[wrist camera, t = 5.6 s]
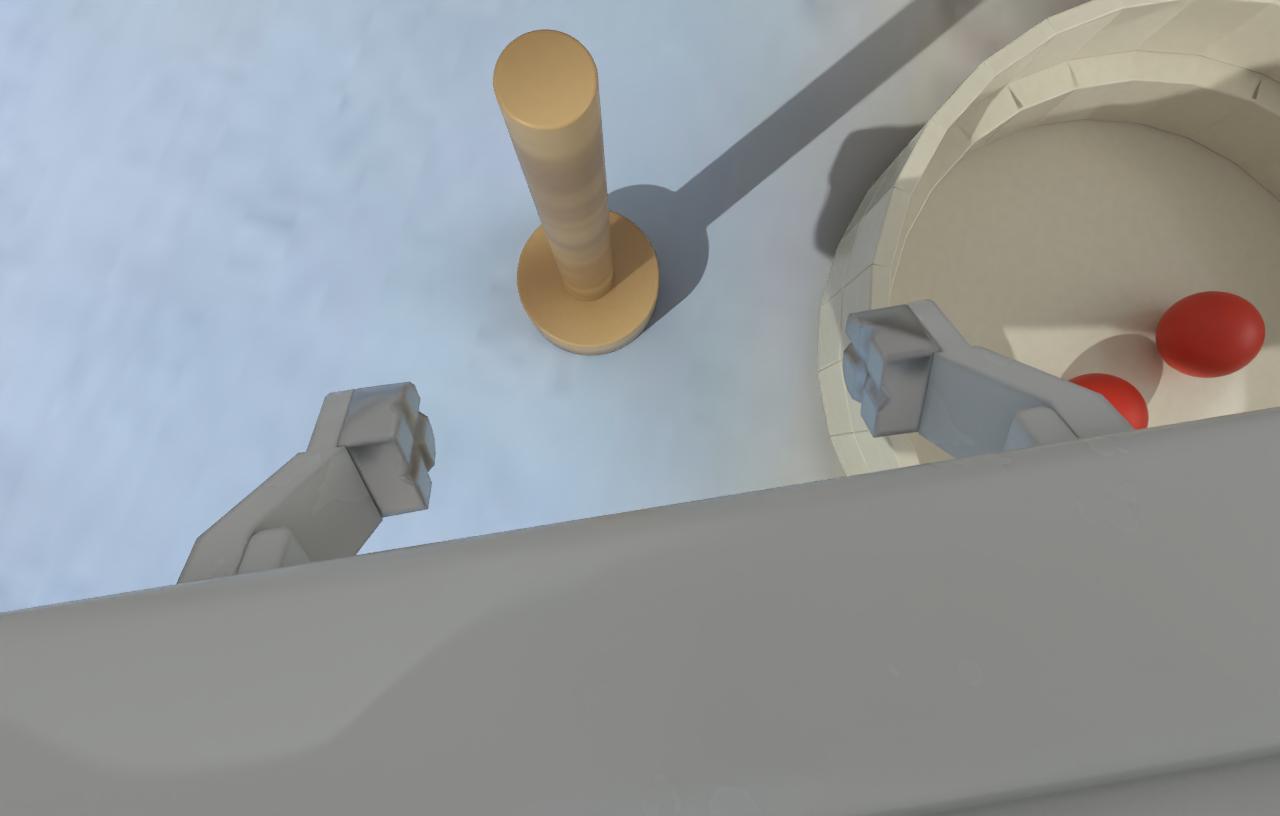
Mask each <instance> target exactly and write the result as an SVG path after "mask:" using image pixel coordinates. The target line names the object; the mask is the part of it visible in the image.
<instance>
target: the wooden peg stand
mask: <svg viewBox="0 0 1280 816" xmlns="http://www.w3.org/2000/svg"><path fill="white" fill-rule="evenodd" d="M493 87H494V92H495V96H496V99H497V102H498V104H499V107H500V110H501V113H502V115H503V118H504V121H505V124H506V126H507V129H508V132H509V135H510V137H511V140H512V143H513V146H514V148H515V151H516V154H517V157H518V159H519V162H520V165H521V168H522V170H523V173H524V176H525V179H526V181H527V184H528V187H529V190H530V193H531V195H532V198H533V201H534V204H535V206H536V209H537V212H538V215H539V217H540V220H541V223H542V225H541V226H540V227H539V228H538V229H537V230H536V231H535V232H534V233H533V234H532V235H531V237H530V238H529V239H528V241H527V243H526V245H525V246H524V248H523V251H522V253H521V256H520V259H519V263H518V270H517V285H518V292H519V296H520V299H521V302H522V304H523V307H524V309H525V311H526V312H527V314H528V316H529V317H530V319H531V320H532V322H533V323H534V325H535V326H536V328H537V329H538V330H539V331H540V333H541V334H542V335H543V336H544V337H545V338H546V339H547V340H549V341H550V342H551V343H553V344H554V345H556V346H558V347H559V348H561V349H563V350H566V351H569V352H572V353H576V354H580V355H601V354H607V353H610V352H614V351H616V350H618V349H621V348H623V347H624V346H626V345H628V344H629V343H631V342H632V341H633V340H634V339H636V338H637V337H638V336H639V335H640V334H641V333H642V331H643V330H644V329H645V327H646V326H647V325H648V323H649V321H650V319H651V317H652V315H653V312H654V310H655V306H656V302H657V296H658V290H659V282H660V275H659V265H658V260H657V257H656V254H655V251H654V249H653V247H652V245H651V243H650V242H649V240H648V238H647V237H646V236H645V234H644V233H643V232H642V231H641V230H640V229H639V228H638V227H637V226H636V225H635V224H634V223H633V222H631V221H630V220H628V219H627V218H625V217H623V216H622V215H620V214H617V213H615V212H612V211H609V207H608V194H607V182H606V170H605V157H604V145H603V132H602V120H601V108H600V95H599V83H598V73H597V68H596V65H595V62H594V60H593V58H592V56H591V55H590V53H589V51H588V50H587V49H586V48H585V47H584V46H583V45H582V44H581V43H580V42H579V41H578V40H576V39H575V38H573V37H571V36H570V35H568V34H565V33H563V32H559V31H555V30H536V31H531V32H528V33H525V34H523V35H521V36H519V37H517V38H516V39H515V40H513V41H512V42H511V43H510V44H509V45H508V46H507V47H506V48H505V49H504V50H503V52H502V53H501V55H500V57H499V58H498V61H497V63H496V66H495V69H494V75H493Z"/></svg>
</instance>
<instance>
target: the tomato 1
mask: <svg viewBox="0 0 1280 816" xmlns="http://www.w3.org/2000/svg"><path fill="white" fill-rule="evenodd" d="M1068 381H1069V382H1072V383H1074V384H1077V385H1079V386H1082V387H1084V388H1087V389H1089V390H1092V391H1094V392H1097V393H1100V394H1102V395H1103V396H1104V397H1105V398H1106V399H1107V400H1108V401H1109V402H1110V403H1111V404H1112V405H1113V406H1114V408H1115V409H1116V410H1117V411H1118V412H1119V413H1120V414H1121V415H1122V416H1123V417H1124V418H1125V419H1126V420H1127V421H1128V422H1129V423H1130V424H1131V425H1132V426H1133V427H1134V428H1135V430H1138V429H1144V428H1147V426H1148V420H1149V414H1148V408H1147V405H1146V402H1145V400H1144V398H1143V397H1142V395H1141V393H1140V392H1139V391H1138V390H1137V389H1136V388H1135V387H1134V386H1133V385H1131V384H1130V383H1129V382H1127V381H1125V380H1124V379H1122V378H1119V377H1117V376H1114V375H1110V374H1103V373H1090V374H1084V375H1080V376H1077V377H1074V378H1072V379H1070V380H1068Z"/></svg>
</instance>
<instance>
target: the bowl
mask: <svg viewBox="0 0 1280 816" xmlns="http://www.w3.org/2000/svg"><path fill="white" fill-rule="evenodd" d="M1206 291H1220V292H1228V293H1232V294H1235V295H1237V296H1240V297H1242V298H1244V299H1246V300H1247V301H1249V302H1250V303H1251V304H1252V305H1254V306H1255V308H1256V309H1257V310H1258V311H1259V313H1260V314H1261V316H1262V318H1263V321H1264V324H1265V340H1264V343H1263V346H1262V348H1261V350H1260V352H1259V353H1258V355H1257V356H1256V357H1255V358H1254V359H1253V360H1252V361H1251V362H1250V363H1249V364H1248V365H1246V366H1245V367H1243V368H1242V369H1240V370H1238V371H1236V372H1234V373H1232V374H1229V375H1225V376H1221V377H1215V378H1200V377H1193V376H1189V375H1186V374H1183V373H1181V372H1179V371H1177V370H1175V369H1174V368H1172V367H1171V366H1169V365H1168V364H1167V363H1166V362H1165V360H1164V359H1163V358H1162V357H1161V355H1160V353H1159V351H1158V349H1157V346H1156V339H1155V336H1156V329H1157V326H1158V323H1159V321H1160V319H1161V317H1162V316H1163V314H1164V313H1165V312H1166V311H1167V310H1168V309H1169V308H1170V307H1171V306H1172V305H1173V304H1174V303H1176V302H1178V301H1179V300H1181V299H1183V298H1185V297H1187V296H1190V295H1192V294H1196V293H1200V292H1206ZM926 299H930V300H932V301H934V302H935V303H936V304H937V306H938V307H939V308H940V309H941V310H942V312H943V313H944V314H945V315H946V317H947V318H948V319H949V320H950V321H951V323H952V324H953V325H954V326H955V328H956V329H957V330H958V331H959V332H960V334H961V335H962V336H963V337H964V338H965V340H966V341H967V342H968V343H969V345H970V346H971V347H974V346H981V347H984V348H986V349H989V350H991V351H994V352H996V353H999V354H1001V355H1004V356H1006V357H1009V358H1011V359H1014V360H1016V361H1019V362H1021V363H1024V364H1026V365H1029V366H1032V367H1034V368H1037V369H1039V370H1042V371H1044V372H1047V373H1049V374H1052V375H1054V376H1057V377H1059V378H1062V379H1064V380H1067V381H1068V380H1070V379H1072V378H1074V377H1077V376H1080V375H1084V374H1090V373H1103V374H1110V375H1114V376H1117V377H1119V378H1122V379H1124V380H1125V381H1127V382H1129V383H1130V384H1131V385H1133V386H1134V387H1135V388H1136V389H1137V390H1138V391H1139V392H1140V393H1141V395H1142V397H1143V398H1144V400H1145V402H1146V405H1147V408H1148V414H1149V420H1148V426H1147V428H1150V427H1156V426H1162V425H1169V424H1175V423H1181V422H1187V421H1193V420H1200V419H1206V418H1212V417H1218V416H1224V415H1230V414H1236V413H1242V412H1249V411H1255V410H1261V409H1267V408H1273V407H1279V406H1280V0H1092V1H1089V2H1087V3H1084V4H1082V5H1079V6H1076V7H1074V8H1071V9H1069V10H1066V11H1063V12H1061V13H1058V14H1056V15H1053V16H1050V17H1048V18H1047V19H1044V20H1042V21H1041V22H1040V23H1038V24H1037V25H1035V26H1034V27H1032V28H1031V29H1029V30H1028V31H1026V32H1025V33H1023V34H1022V35H1020V36H1019V37H1018V38H1016V39H1015V40H1013V41H1012V42H1010V43H1009V44H1007V45H1006V46H1004V47H1003V48H1001V49H1000V50H998V51H997V52H996V53H994V54H993V55H991V56H990V57H988V58H987V59H985V60H984V61H983V62H982V63H980V64H979V65H978V67H977V68H976V69H975V70H974V71H973V72H972V73H971V74H970V75H969V76H968V78H967V79H966V80H965V81H964V82H963V83H962V84H961V85H960V86H959V87H958V89H957V90H956V91H955V92H954V93H953V94H952V95H951V96H950V97H949V98H948V100H947V101H946V102H945V103H944V104H943V105H942V106H941V107H940V108H939V109H938V111H937V112H936V113H935V114H934V115H933V116H932V117H931V118H930V119H929V121H928V122H927V123H926V124H925V125H924V126H923V127H922V129H921V130H920V131H919V132H918V133H917V134H916V136H915V137H914V138H913V139H912V140H911V141H910V142H909V144H908V145H907V146H906V147H905V148H904V149H903V151H902V152H901V153H900V154H899V155H898V156H897V158H896V159H895V160H894V161H893V162H892V163H891V164H890V166H889V167H888V168H887V169H886V170H885V171H884V172H883V174H882V175H881V176H880V177H879V178H878V179H877V181H876V182H875V183H874V184H873V185H872V186H871V187H870V189H869V190H868V192H867V193H866V195H865V197H864V198H863V200H862V202H861V204H860V206H859V208H858V209H857V211H856V213H855V215H854V217H853V218H852V220H851V222H850V224H849V226H848V227H847V229H846V231H845V233H844V235H843V236H842V238H841V240H840V242H839V246H838V247H837V249H836V253H835V256H834V260H833V264H832V267H831V271H830V274H829V278H828V281H827V285H826V288H825V292H824V295H823V299H822V303H821V306H822V307H821V308H820V325H819V347H818V368H817V369H818V377H819V383H820V388H821V394H822V399H823V405H824V410H825V416H826V421H827V427H828V433H829V435H830V439H831V442H832V444H833V446H834V449H835V451H836V453H837V456H838V458H839V461H840V463H841V465H842V468H843V470H844V472H845V475H846V476H852V475H858V474H864V473H870V472H877V471H883V470H889V469H895V468H901V467H908V466H914V465H920V464H926V463H932V462H939V461H945V460H951V459H956V458H954V457H953V456H951V455H950V454H948V453H947V452H945V451H944V450H942V449H941V448H939V447H938V446H936V445H935V444H933V443H931V442H930V441H928V440H927V439H925V438H924V437H922V436H921V435H919V434H918V432H913V433H905V434H898V435H890V436H883V437H875V438H873V436H872V435H871V433H870V431H869V429H868V427H867V426H866V424H865V422H864V420H863V418H862V416H861V415H860V413H861V403H859V402H857V401H855V400H853V399H852V398H851V396H850V394H849V392H848V390H847V387H846V384H845V381H844V374H843V351H844V350H845V349H846V348H847V347H848V345H849V344H850V343H851V341H850V339H849V338H848V336H847V334H846V332H845V331H846V322H847V318H848V316H849V313H855V312H861V311H867V310H873V309H879V308H885V307H891V306H897V305H902V304H905V303H910V302H915V301H921V300H926Z"/></svg>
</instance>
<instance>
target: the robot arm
mask: <svg viewBox="0 0 1280 816" xmlns="http://www.w3.org/2000/svg"><path fill="white" fill-rule="evenodd" d="M845 332H846V334H847V336H848V338H849V339H850V341H851V343H850V344H849V345H848V347H847V348H846V349H845V350H844V351H843V374H844V381H845V384H846V387H847V390H848V392H849V394H850V396H851V398H852V399H853V400H855V401H857V402H859V403H861V413H860V415H861V416H862V418H863V420H864V422H865V424H866V426H867V427H868V429H869V431H870V433H871V435H872V436H873V438H875V437H883V436H890V435H898V434H905V433H913V432H918V434H919V435H921V436H922V437H924V438H925V439H927V440H928V441H930V442H931V443H933V444H935V445H936V446H938V447H939V448H941V449H942V450H944V451H945V452H947V453H948V454H950V455H951V456H953V457H954V458H956V459H951V460H945V461H939V462H932V463H926V464H920V465H914V466H908V467H901V468H895V469H889V470H883V471H877V472H870V473H864V474H858V475H852V476H846V477H839V478H833V479H827V480H821V481H815V482H808V483H802V484H796V485H790V486H784V487H777V488H771V489H765V490H759V491H753V492H746V493H740V494H734V495H728V496H722V497H715V498H709V499H703V500H697V501H691V502H684V503H678V504H672V505H666V506H659V507H653V508H647V509H641V510H635V511H628V512H622V513H616V514H610V515H604V516H597V517H591V518H585V519H579V520H572V521H566V522H560V523H554V524H548V525H541V526H535V527H529V528H523V529H517V530H510V531H504V532H498V533H492V534H485V535H479V536H473V537H467V538H461V539H454V540H448V541H442V542H436V543H429V544H423V545H417V546H411V547H405V548H398V549H392V550H386V551H380V552H374V553H367V554H361V555H356V554H357V552H358V551H359V550H360V548H361V547H362V546H363V545H364V543H365V542H366V541H367V539H368V538H369V537H370V536H371V534H372V533H373V532H374V530H375V529H376V528H377V527H378V525H379V524H380V523H381V521H382V518H383V517H388V516H393V515H399V514H404V513H409V512H415V511H420V510H425V509H428V506H429V499H430V492H431V485H432V482H431V479H430V477H429V474H428V471H429V470H430V469H431V468H432V467H433V466H434V464H435V455H436V452H435V439H434V435H433V431H432V427H431V424H430V422H429V419H428V417H427V416H425V415H424V414H422V413H421V412H419V405H420V397H419V394H418V392H417V390H416V387H415V385H414V384H412V383H411V382H403V383H396V384H388V385H381V386H373V387H366V388H359V389H352V390H345V391H339V392H333V393H329V394H328V395H327V396H326V397H325V398H324V401H323V404H322V407H321V410H320V413H319V416H318V419H317V422H316V424H315V427H314V430H313V433H312V436H311V439H310V442H309V445H308V448H307V451H306V452H303V453H298V454H297V455H295V456H294V457H293V458H292V459H291V460H290V461H288V462H287V463H286V464H285V465H284V466H282V467H281V468H280V469H279V470H278V471H276V472H275V473H274V474H273V475H272V476H271V477H269V478H268V479H267V480H266V481H265V482H263V483H262V484H261V485H260V486H259V487H257V488H256V489H255V490H254V491H253V492H252V493H250V494H249V495H248V496H247V497H246V498H244V499H243V500H242V501H241V502H240V503H238V504H237V505H236V506H235V507H234V508H233V509H231V510H230V511H229V512H228V513H227V514H225V515H224V516H223V517H222V518H221V519H219V520H218V521H217V522H216V523H215V524H214V525H212V526H211V527H210V528H209V529H208V530H206V531H205V532H204V533H203V534H202V535H200V536H199V537H198V538H197V539H196V541H195V544H194V546H193V548H192V550H191V553H190V555H189V557H188V559H187V562H186V564H185V566H184V568H183V570H182V573H181V575H180V577H179V579H178V582H177V584H175V585H169V586H162V587H156V588H150V589H144V590H138V591H131V592H125V593H119V594H113V595H107V596H100V597H94V598H88V599H82V600H76V601H69V602H63V603H57V604H51V605H45V606H38V607H32V608H26V609H20V610H14V611H7V612H1V613H0V816H1280V406H1279V407H1273V408H1267V409H1261V410H1255V411H1249V412H1242V413H1236V414H1230V415H1224V416H1218V417H1212V418H1206V419H1200V420H1193V421H1187V422H1181V423H1175V424H1169V425H1162V426H1156V427H1150V428H1144V429H1138V430H1135V428H1134V427H1133V426H1132V425H1131V424H1130V423H1129V422H1128V421H1127V420H1126V419H1125V418H1124V417H1123V416H1122V415H1121V414H1120V413H1119V412H1118V411H1117V410H1116V409H1115V408H1114V406H1113V405H1112V404H1111V403H1110V402H1109V401H1108V400H1107V399H1106V398H1105V397H1104V396H1103V395H1102V394H1100V393H1097V392H1094V391H1092V390H1089V389H1087V388H1084V387H1082V386H1079V385H1077V384H1074V383H1072V382H1069V381H1067V380H1064V379H1062V378H1059V377H1057V376H1054V375H1052V374H1049V373H1047V372H1044V371H1042V370H1039V369H1037V368H1034V367H1032V366H1029V365H1026V364H1024V363H1021V362H1019V361H1016V360H1014V359H1011V358H1009V357H1006V356H1004V355H1001V354H999V353H996V352H994V351H991V350H989V349H986V348H984V347H981V346H974V347H971V346H970V345H969V343H968V342H967V341H966V340H965V338H964V337H963V336H962V335H961V334H960V332H959V331H958V330H957V329H956V328H955V326H954V325H953V324H952V323H951V321H950V320H949V319H948V318H947V317H946V315H945V314H944V313H943V312H942V310H941V309H940V308H939V307H938V306H937V304H936V303H935V302H934V301H932V300H930V299H926V300H921V301H915V302H910V303H905V304H902V305H897V306H891V307H885V308H879V309H873V310H867V311H861V312H855V313H849V316H848V318H847V322H846V331H845Z"/></svg>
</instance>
